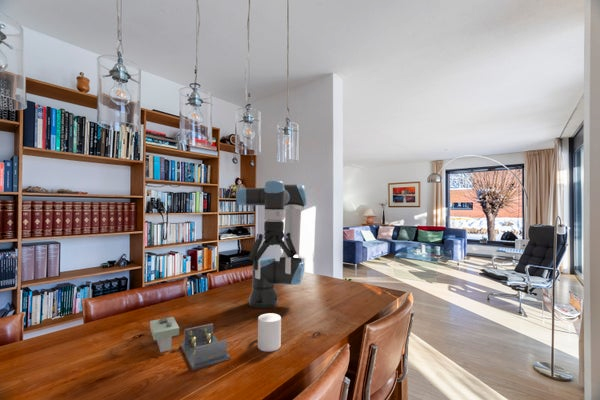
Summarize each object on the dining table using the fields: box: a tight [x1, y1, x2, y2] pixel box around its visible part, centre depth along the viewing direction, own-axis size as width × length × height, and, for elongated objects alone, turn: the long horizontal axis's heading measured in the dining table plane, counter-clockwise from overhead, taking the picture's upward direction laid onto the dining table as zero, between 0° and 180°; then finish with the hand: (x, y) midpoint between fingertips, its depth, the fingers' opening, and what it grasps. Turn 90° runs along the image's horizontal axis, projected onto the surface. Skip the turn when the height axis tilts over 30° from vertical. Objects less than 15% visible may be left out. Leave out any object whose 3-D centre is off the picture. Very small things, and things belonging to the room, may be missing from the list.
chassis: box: [180, 322, 231, 371], centre depth 97 cm, size 18×12×6 cm, turn 33°
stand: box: [156, 336, 173, 353], centre depth 102 cm, size 10×4×5 cm, turn 33°
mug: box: [257, 312, 282, 352], centre depth 104 cm, size 8×10×12 cm
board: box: [149, 316, 180, 341], centre depth 102 cm, size 12×8×3 cm, turn 33°
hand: (273, 275), depth 109 cm, fingers open, 13 cm apart
